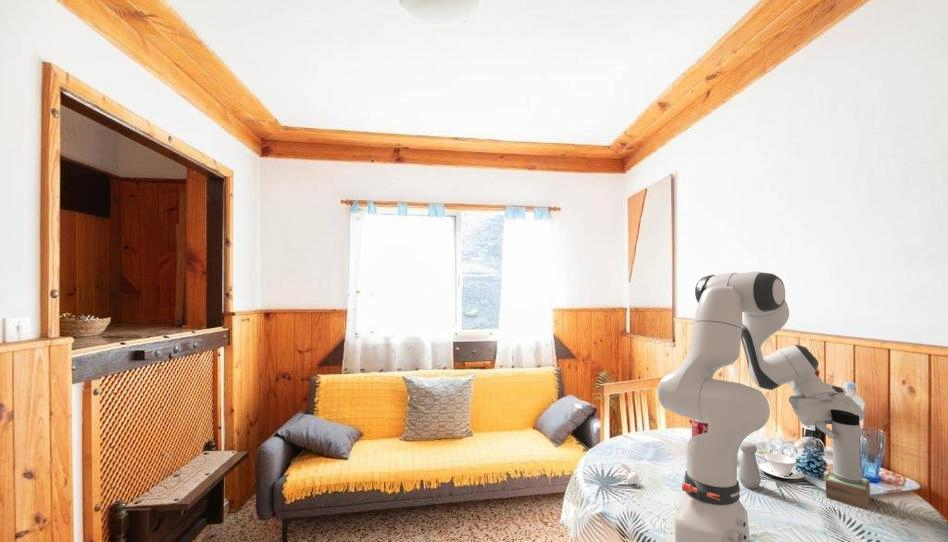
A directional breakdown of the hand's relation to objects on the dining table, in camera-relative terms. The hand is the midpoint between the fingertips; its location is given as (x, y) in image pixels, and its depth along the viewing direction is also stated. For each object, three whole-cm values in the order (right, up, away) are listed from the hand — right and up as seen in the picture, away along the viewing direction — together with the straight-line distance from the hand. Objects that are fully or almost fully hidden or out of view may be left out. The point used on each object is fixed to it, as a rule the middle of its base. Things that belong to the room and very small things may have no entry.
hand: (847, 436), depth 121 cm
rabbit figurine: (-61, -19, +10) cm, 65 cm away
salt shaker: (-24, -19, +8) cm, 31 cm away
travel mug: (0, -13, 0) cm, 13 cm away
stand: (0, -18, 0) cm, 18 cm away
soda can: (-24, -20, +34) cm, 46 cm away
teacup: (-8, -19, +15) cm, 26 cm away
